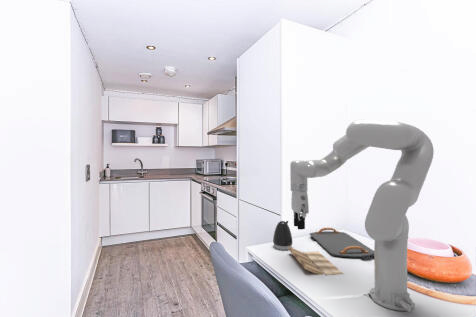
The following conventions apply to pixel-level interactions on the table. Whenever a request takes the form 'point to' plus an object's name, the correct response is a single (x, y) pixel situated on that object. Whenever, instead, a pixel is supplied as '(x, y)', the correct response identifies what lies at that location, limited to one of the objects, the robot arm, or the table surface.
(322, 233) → the serving board
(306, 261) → the plank
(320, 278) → the table surface
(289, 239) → the pump dispenser
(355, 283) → the table surface
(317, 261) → the laid boards
